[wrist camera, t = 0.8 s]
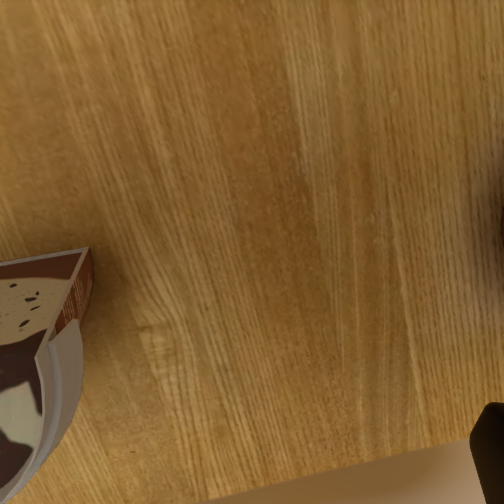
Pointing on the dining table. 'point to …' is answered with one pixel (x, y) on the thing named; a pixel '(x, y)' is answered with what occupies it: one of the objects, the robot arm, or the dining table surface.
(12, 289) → the food container
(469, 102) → the dining table surface
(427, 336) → the dining table surface
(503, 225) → the stand
